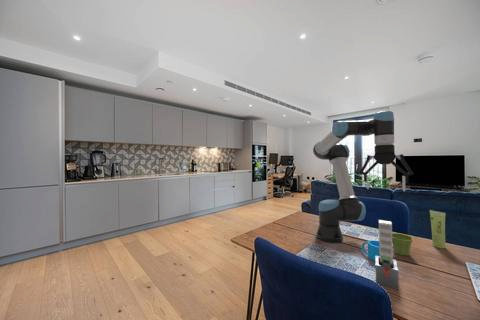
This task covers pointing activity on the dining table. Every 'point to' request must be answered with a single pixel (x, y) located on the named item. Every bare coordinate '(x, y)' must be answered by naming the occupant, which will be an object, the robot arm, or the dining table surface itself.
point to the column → (385, 242)
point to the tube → (438, 228)
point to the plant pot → (401, 243)
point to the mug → (372, 249)
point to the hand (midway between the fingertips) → (385, 189)
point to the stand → (387, 273)
